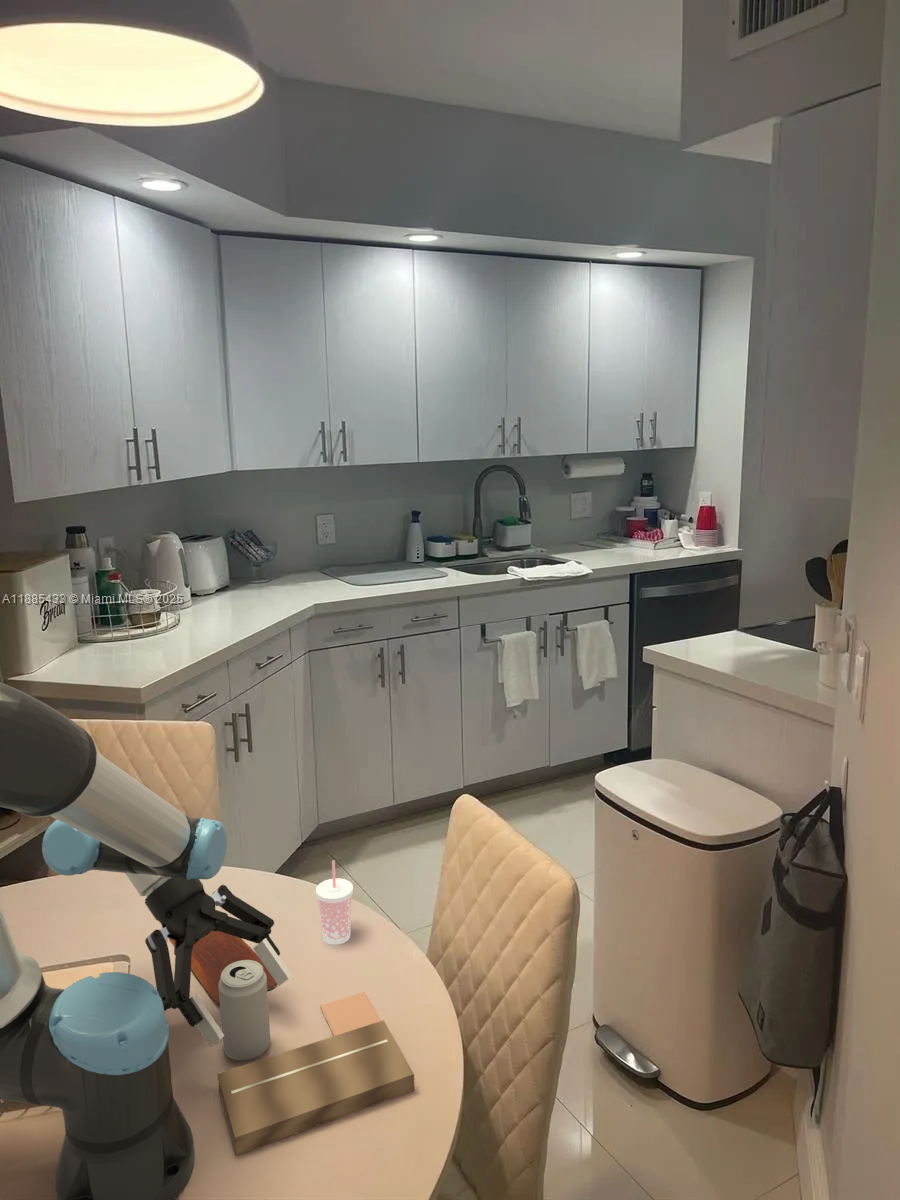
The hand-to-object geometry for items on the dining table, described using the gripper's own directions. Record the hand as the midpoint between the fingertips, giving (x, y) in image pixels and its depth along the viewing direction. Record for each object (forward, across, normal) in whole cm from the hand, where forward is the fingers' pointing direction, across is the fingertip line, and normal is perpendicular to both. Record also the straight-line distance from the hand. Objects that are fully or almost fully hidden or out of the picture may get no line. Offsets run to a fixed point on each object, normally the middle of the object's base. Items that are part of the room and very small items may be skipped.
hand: (253, 1009), depth 119 cm
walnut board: (+13, +2, +4) cm, 14 cm away
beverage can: (+4, 0, -5) cm, 6 cm away
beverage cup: (+1, -26, -8) cm, 27 cm away
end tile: (+10, -12, +1) cm, 15 cm away
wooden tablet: (-9, -13, -19) cm, 24 cm away
